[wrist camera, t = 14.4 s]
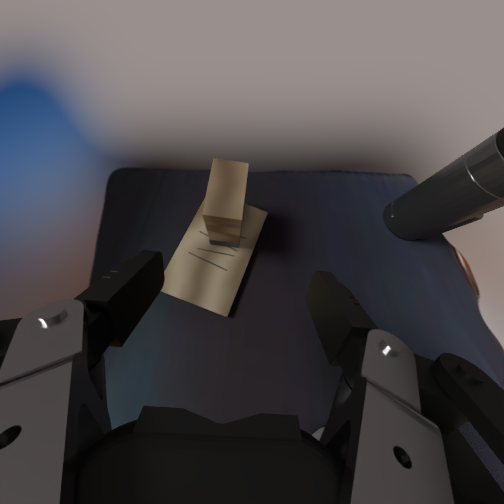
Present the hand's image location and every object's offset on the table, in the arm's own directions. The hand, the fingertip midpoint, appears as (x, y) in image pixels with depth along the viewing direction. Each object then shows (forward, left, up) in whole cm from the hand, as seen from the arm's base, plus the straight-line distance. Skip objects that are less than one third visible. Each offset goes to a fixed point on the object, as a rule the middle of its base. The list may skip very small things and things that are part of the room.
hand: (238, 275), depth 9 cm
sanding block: (+6, -12, -20) cm, 24 cm away
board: (+6, -7, -21) cm, 23 cm away
